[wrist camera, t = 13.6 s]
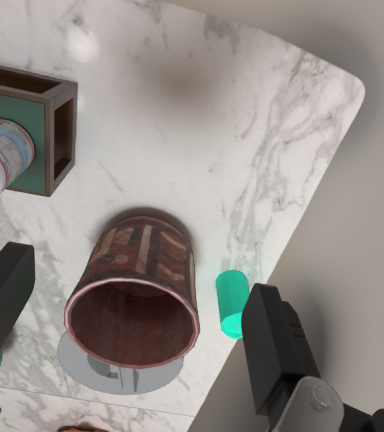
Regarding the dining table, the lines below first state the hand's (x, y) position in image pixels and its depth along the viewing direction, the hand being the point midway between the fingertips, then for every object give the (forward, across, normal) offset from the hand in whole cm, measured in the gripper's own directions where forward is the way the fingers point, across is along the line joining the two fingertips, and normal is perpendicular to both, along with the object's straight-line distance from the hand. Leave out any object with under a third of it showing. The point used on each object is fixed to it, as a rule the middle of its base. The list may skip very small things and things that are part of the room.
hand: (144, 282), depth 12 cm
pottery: (+38, 0, +27) cm, 47 cm away
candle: (+38, -17, +32) cm, 53 cm away
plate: (+38, +1, +59) cm, 70 cm away
